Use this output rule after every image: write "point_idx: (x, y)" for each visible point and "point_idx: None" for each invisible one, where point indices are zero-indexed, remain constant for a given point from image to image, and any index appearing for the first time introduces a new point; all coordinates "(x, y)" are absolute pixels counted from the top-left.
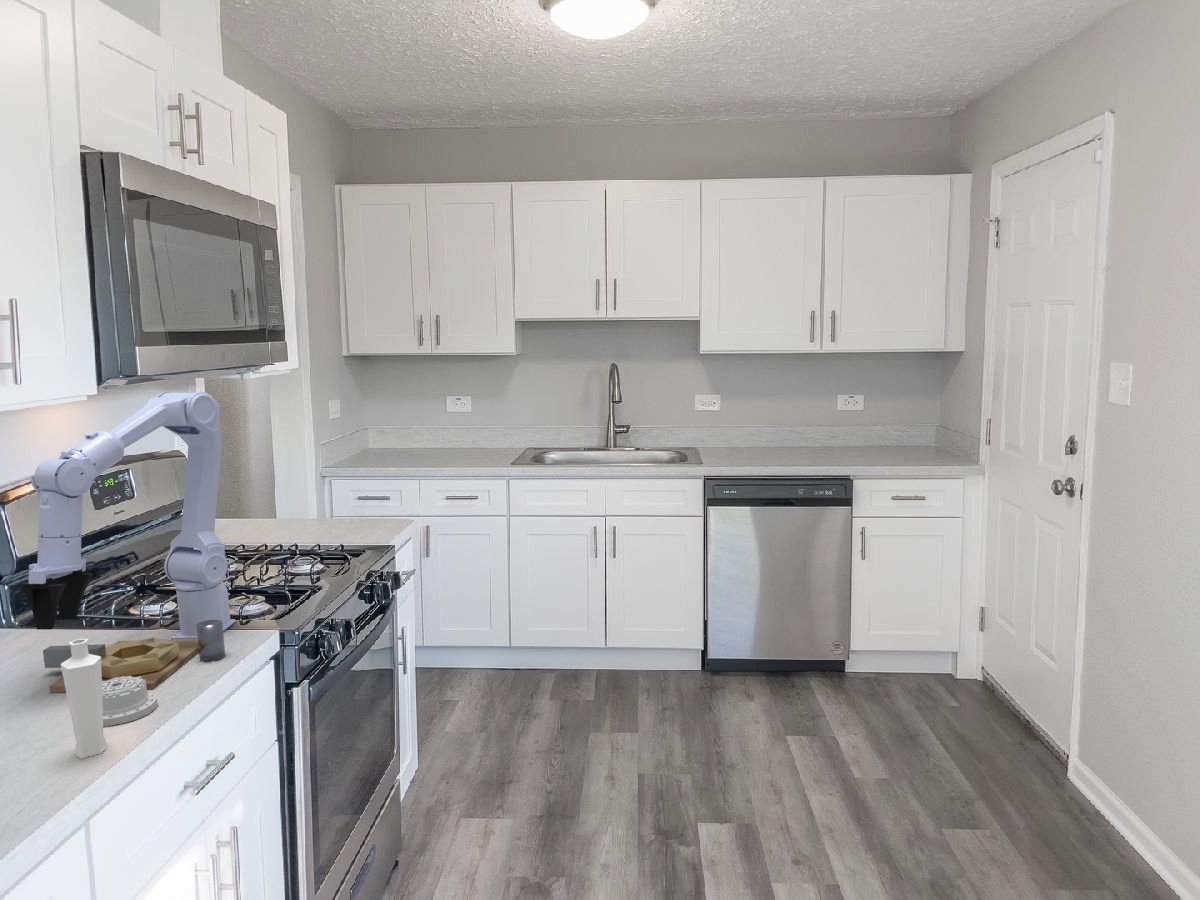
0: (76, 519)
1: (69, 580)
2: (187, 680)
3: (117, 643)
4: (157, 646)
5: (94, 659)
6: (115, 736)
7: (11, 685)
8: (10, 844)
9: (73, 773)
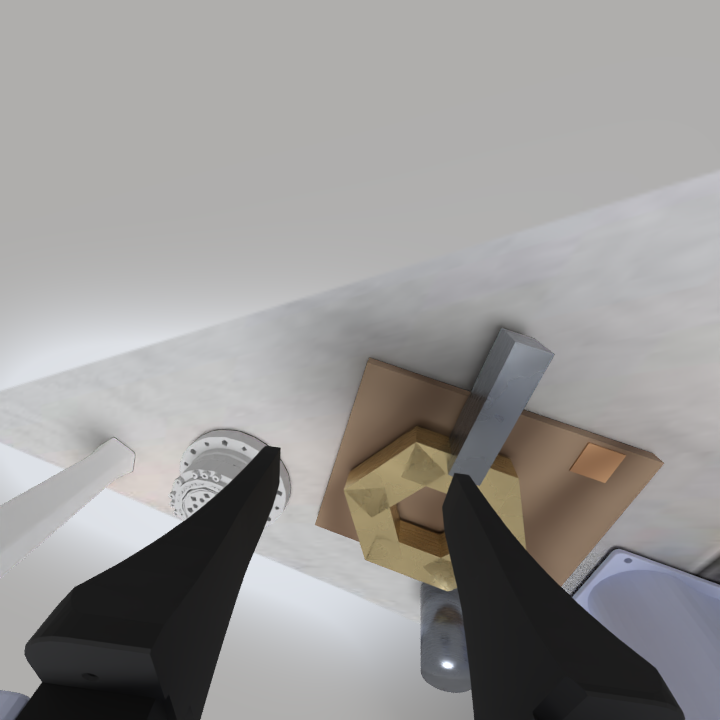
0: None
1: (508, 704)
2: (342, 555)
3: (638, 461)
4: (445, 561)
5: None
6: (157, 477)
7: (462, 254)
8: None
9: (65, 443)
